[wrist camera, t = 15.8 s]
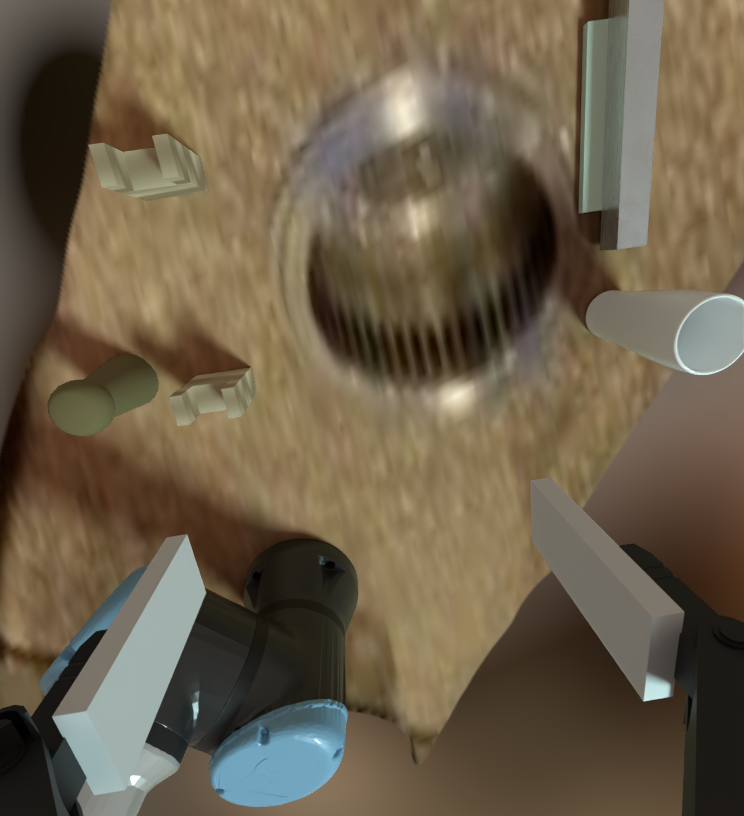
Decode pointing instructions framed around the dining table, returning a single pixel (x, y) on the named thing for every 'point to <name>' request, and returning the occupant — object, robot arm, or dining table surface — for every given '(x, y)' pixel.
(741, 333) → the drinking glass
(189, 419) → the hook stands
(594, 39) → the sage board
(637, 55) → the steel rail
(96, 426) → the olive round-headed peg
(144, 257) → the dining table surface
